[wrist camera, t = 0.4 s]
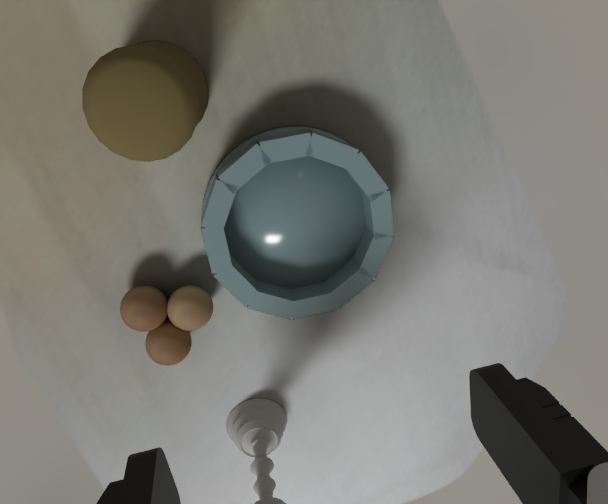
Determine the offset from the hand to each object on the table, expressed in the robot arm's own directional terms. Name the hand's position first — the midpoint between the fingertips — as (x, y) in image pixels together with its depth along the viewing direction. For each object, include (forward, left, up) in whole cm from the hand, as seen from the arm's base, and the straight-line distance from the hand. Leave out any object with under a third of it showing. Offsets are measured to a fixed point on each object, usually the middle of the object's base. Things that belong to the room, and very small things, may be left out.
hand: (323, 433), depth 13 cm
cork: (-8, -4, -25) cm, 26 cm away
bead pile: (+7, -7, -25) cm, 27 cm away
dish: (+2, +3, -25) cm, 25 cm away
